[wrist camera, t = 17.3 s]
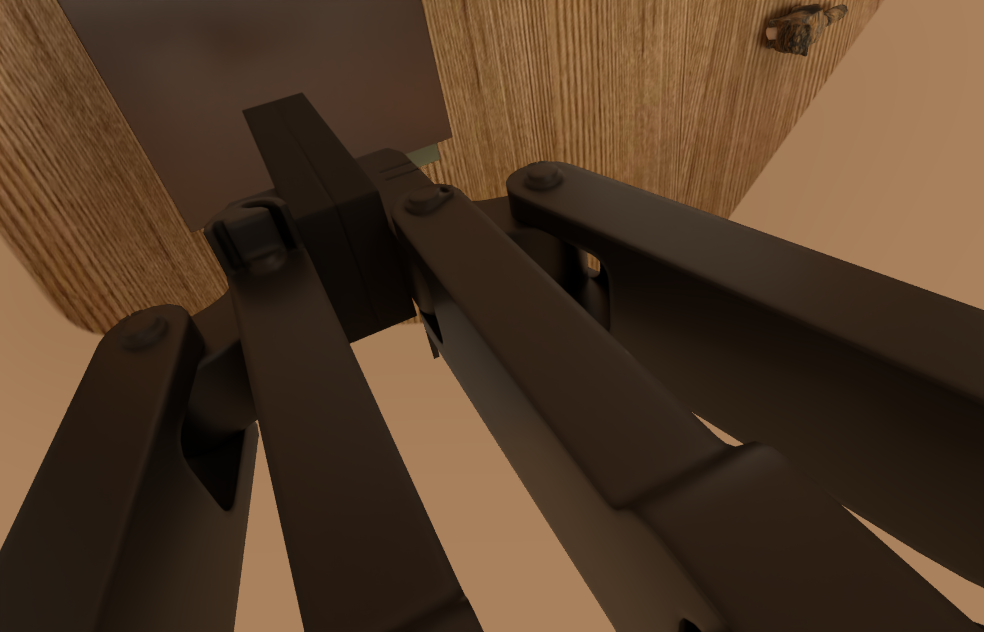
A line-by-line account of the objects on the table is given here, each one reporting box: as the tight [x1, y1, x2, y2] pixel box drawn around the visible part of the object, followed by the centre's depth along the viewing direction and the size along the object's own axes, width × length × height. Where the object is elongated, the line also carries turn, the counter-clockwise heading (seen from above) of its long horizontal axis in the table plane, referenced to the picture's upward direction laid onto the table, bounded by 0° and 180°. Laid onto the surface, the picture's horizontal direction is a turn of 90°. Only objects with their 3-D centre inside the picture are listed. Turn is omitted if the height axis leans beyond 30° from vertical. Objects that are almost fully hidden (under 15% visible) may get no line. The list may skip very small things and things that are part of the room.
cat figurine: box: [766, 4, 848, 56], centre depth 45 cm, size 3×8×4 cm, turn 101°
